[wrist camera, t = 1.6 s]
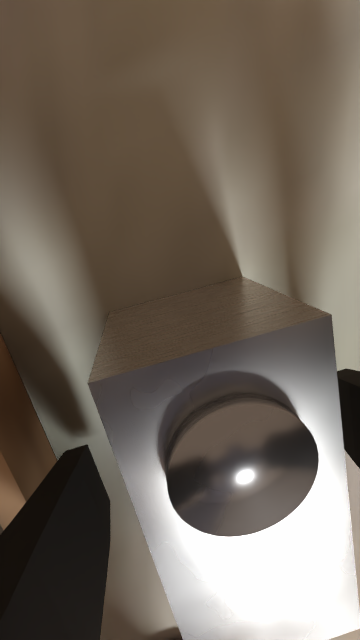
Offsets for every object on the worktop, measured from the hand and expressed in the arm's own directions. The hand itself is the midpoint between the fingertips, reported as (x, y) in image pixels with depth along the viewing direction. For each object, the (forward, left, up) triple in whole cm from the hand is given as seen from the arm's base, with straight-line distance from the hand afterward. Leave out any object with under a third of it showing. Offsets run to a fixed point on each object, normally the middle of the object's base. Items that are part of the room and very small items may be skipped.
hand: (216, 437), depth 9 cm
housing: (0, 0, -2) cm, 2 cm away
